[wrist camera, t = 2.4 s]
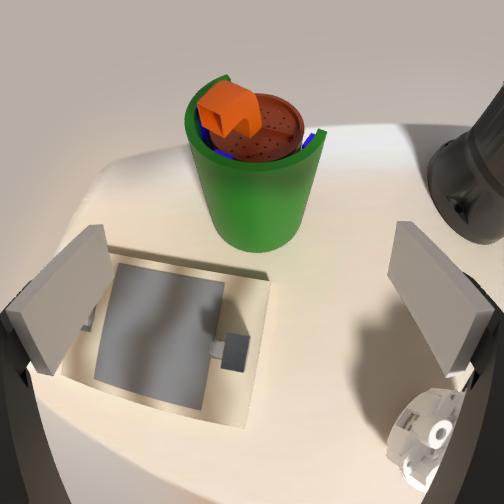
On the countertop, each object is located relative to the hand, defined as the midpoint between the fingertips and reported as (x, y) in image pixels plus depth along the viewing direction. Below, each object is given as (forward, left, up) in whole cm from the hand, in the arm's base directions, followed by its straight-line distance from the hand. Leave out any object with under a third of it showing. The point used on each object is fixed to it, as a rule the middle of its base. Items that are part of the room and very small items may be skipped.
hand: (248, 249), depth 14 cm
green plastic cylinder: (+2, -11, -20) cm, 23 cm away
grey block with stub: (+1, +4, -18) cm, 19 cm away
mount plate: (+9, +4, -20) cm, 22 cm away
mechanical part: (-21, +11, -20) cm, 31 cm away
